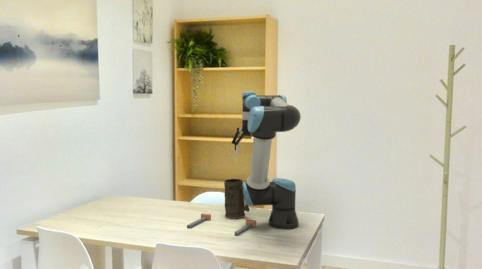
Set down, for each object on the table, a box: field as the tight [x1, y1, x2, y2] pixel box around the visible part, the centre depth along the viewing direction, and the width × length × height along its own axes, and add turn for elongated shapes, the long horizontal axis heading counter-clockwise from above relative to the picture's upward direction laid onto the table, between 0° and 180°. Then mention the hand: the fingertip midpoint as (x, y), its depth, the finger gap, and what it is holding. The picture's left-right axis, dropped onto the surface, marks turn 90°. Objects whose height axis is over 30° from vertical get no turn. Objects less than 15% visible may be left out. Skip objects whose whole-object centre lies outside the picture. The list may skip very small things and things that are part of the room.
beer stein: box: [223, 178, 250, 219], centre depth 238 cm, size 15×11×20 cm
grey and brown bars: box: [186, 212, 257, 237], centre depth 221 cm, size 31×18×3 cm, turn 65°
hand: (248, 157), depth 250 cm, fingers open, 13 cm apart
